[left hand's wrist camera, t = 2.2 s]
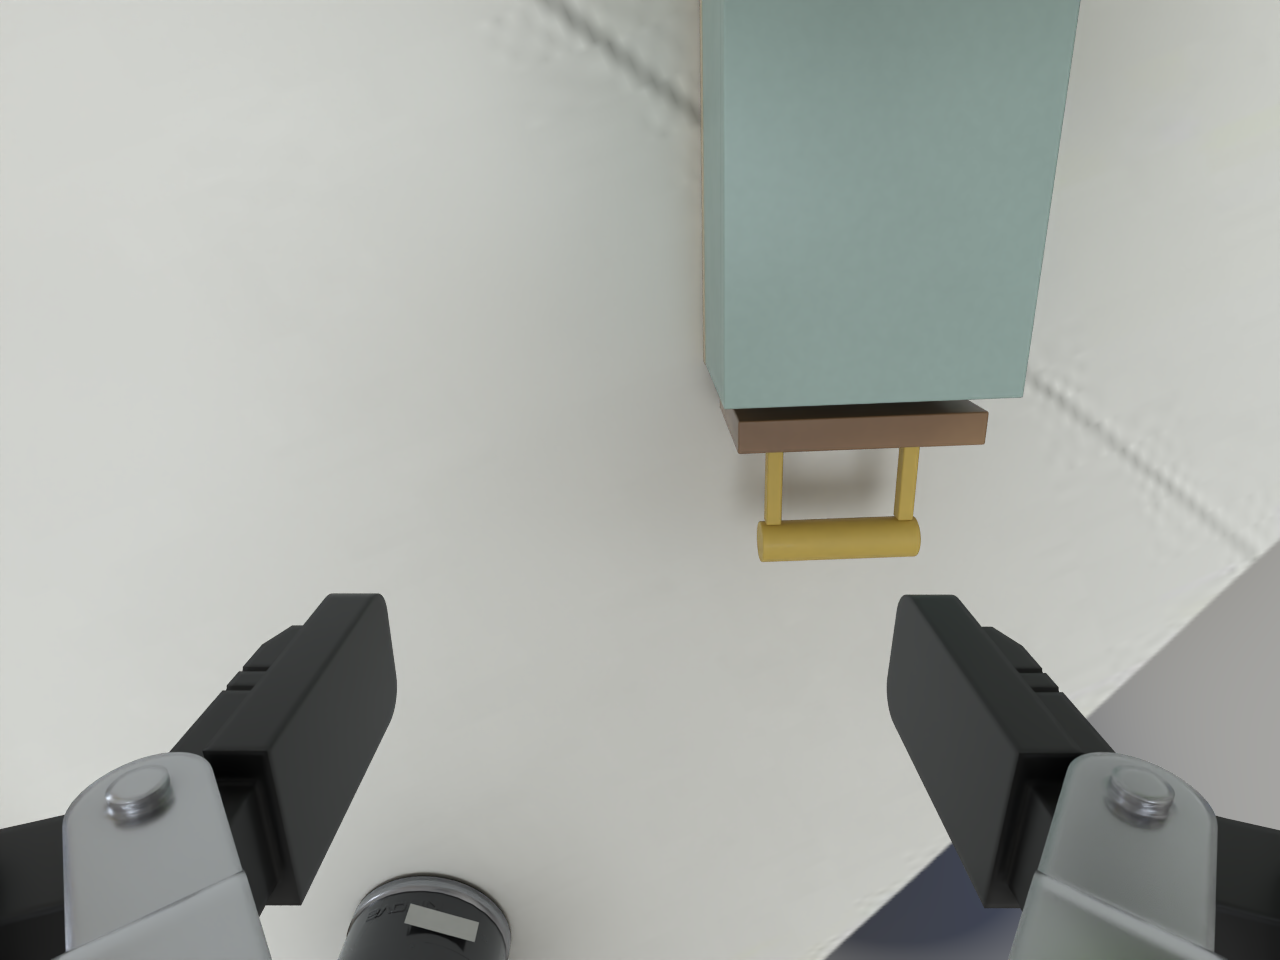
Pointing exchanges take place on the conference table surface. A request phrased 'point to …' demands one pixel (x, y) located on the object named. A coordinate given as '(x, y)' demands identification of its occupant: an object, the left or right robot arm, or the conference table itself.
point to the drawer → (849, 431)
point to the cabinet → (876, 195)
